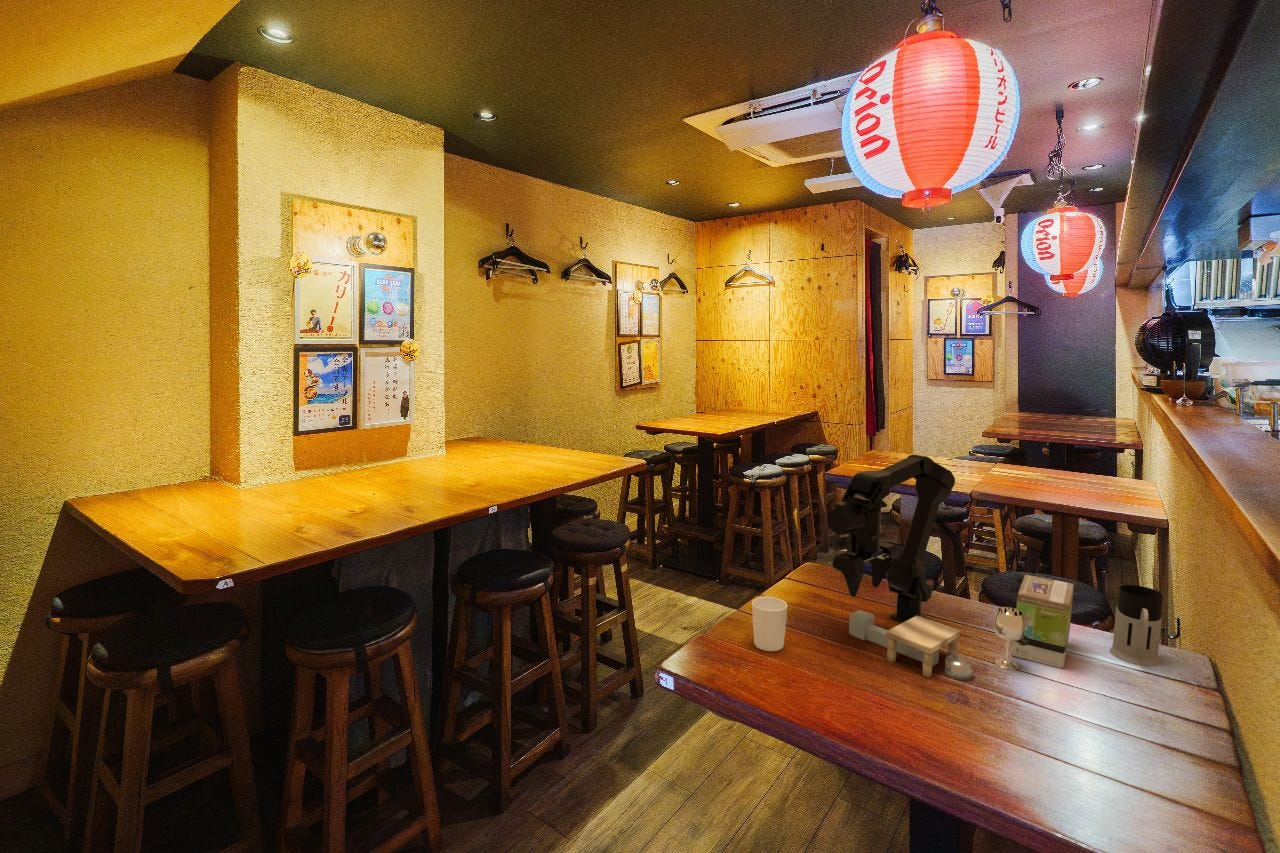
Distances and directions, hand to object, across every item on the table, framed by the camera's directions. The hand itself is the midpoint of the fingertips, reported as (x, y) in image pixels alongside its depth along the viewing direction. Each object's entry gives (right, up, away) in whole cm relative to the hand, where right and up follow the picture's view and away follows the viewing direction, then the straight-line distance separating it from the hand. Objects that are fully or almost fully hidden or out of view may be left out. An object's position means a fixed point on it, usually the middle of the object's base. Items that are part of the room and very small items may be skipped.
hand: (864, 591), depth 147 cm
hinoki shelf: (+9, -12, -10) cm, 18 cm away
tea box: (+38, -12, -6) cm, 40 cm away
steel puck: (+14, -13, -16) cm, 25 cm away
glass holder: (+55, -12, -12) cm, 57 cm away
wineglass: (+26, -13, -12) cm, 32 cm away
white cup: (-23, -12, -3) cm, 26 cm away
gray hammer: (+5, -12, -4) cm, 13 cm away
